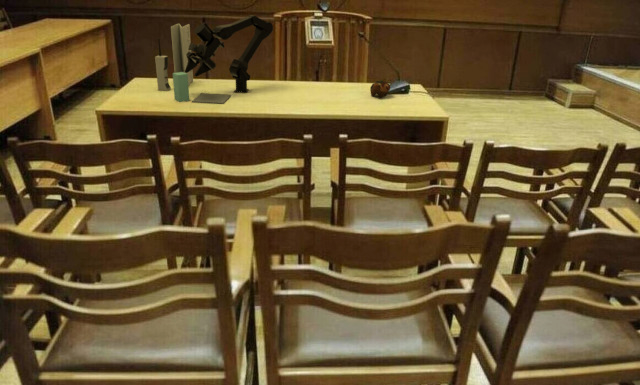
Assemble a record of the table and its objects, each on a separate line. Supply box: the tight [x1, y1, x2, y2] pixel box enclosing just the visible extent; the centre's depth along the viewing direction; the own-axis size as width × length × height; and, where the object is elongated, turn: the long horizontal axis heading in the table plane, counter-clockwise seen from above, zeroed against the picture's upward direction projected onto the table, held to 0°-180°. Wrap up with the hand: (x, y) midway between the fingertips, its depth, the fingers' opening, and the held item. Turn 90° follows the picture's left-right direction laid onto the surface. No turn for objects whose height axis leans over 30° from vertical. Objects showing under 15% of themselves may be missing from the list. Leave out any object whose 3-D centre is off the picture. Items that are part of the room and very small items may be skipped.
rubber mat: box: [191, 92, 232, 105], centre depth 240 cm, size 16×15×1 cm
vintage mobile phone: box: [154, 38, 172, 92], centre depth 247 cm, size 4×5×25 cm
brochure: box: [170, 23, 194, 87], centre depth 259 cm, size 14×6×30 cm, turn 179°
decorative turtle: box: [369, 80, 391, 99], centre depth 257 cm, size 10×15×8 cm, turn 155°
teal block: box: [172, 72, 190, 103], centre depth 233 cm, size 5×5×12 cm
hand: (190, 74), depth 234 cm, fingers open, 9 cm apart
